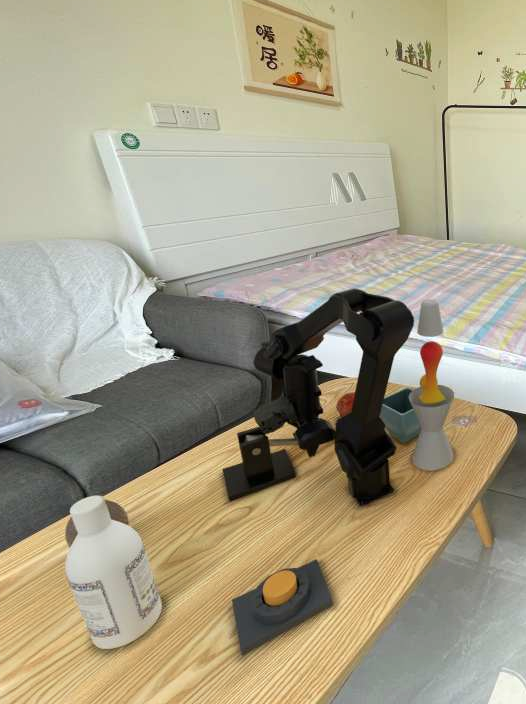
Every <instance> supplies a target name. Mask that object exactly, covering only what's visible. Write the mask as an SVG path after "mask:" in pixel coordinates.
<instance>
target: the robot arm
mask: <svg viewBox="0 0 526 704" xmlns="http://www.w3.org/2000/svg"><path fill="white" fill-rule="evenodd" d="M342 323H343V325H344V327H345V329H346V332H349V333H350V334H352V335H353V336H355V341H356V342H357V344H358V345H359V347H360V348H361V350H362V355H361V360H360V366H359V371H358V375H357V380H356V385H355V391H354V392H355V395H354V400H353V405H352V410H351V412H350V413H348V414H347V415H345V416H343V417H340V418H337V419H336V422H335V425H334V426H333V424H331V421H329V420H327V419H324V418H322V417H319V416H321V415H324V408H323V406H322V405H321V400H320V397H321V396H322V395H323V394H322V389H321V388H320V387H319V381H318V371H317V369H319V368H322V367H323V366H324V364H323V363H322V361H321V360H319V359H318V358H317V357H316V356H315V355H314V354H311V355H308V354H305V353H307V352H309V351H312V350H314V349H317V348H318V347H319V346H320V345H321V344H322V342H323V341H324V339H325V337H324V336H325V334H327V333H328V332H329V331H331V330H333V329H334V328H336V327H338V326H339V325H340V324H342ZM414 325H415V317H414V315H413V313H412V310H411V309H410V307H408V305H406V304H405V303H404V302H402V301H401V300H395V299H393V298H391V297H388V296H384V295H378V294H374V293H368V292H367V291H364V290H362V289H359V288H350V289H346V290H343V291H339V292H336V293H333V294H332V295H331V296H330V297H329V298H328V299H327V300H326V301H325V302H323V303H322V304H321V305H319V306H318V307H317V308H315V309H314V310H312V311H311V312H310V313H309V314H307V315H306V316H305V317H303V318H302V319H301V320H299V321H297V322H294V323H291V324H288V325H285V326H282V327H279V328H276V329H274V330H273V331H272V332H271V335H270V336H271V338H270V339H268V340H266V341H262V342H260V346H261V348H260V349H259V350H258V351H257V352H256V354H255V356H254V358H253V361H252V362H253V366H254V368H255V370H257V371H258V372H260V373H263V374H265V375H268V376H270V377H272V378H275V379H277V380H283V381H284V382H283V383H284V387H283V388H282V389H283V390H281V395H280V396H279V397H278V398H277V399H273V400H272V401H270V402H268V403H266V404H265V405H262V406H261V407H259V408H257V409H255V410H254V411H253V413H252V416H253V418H254V421H255V423H256V424H257V427H260V428H261V431H263V432H264V434H265V435H269V434H271V433H274V432H276V431H278V430H279V429H281V428H283V427H284V426H285V424H287V425H290V426H292V427H294V428H296V430H295V431H294V432H293V433H292V436H293V438H295V440H296V441H297V444H298V445H297V446H298V448H299V450H301V451H306V453H307V456H308V458H312V457H314V456H316V454H317V452H318V450H319V447H320V446H321V445H324V444H327V443H330V442H334V451H335V455H336V458H337V460H338V463H339V466H340V469H341V471H342V472H344V473H345V474H346V478H347V484H348V491H349V493H350V495H351V497H352V498H353V499H354V500H356V502H357V504H358V506H359V507H363V506H366V505H368V504H370V503H372V502H374V501H377V500H379V499H382V498H383V497H387V496H388V495H392V494H393V493H394V492H395V488H394V486H392V484H391V477H390V460H389V459H390V458H391V457H393V456H395V455H396V452H397V449H398V448H397V446H396V444H395V442H394V441H393V440H392V438H391V437H390V435H389V434H388V433H387V432H388V431H387V430H386V428H385V423H384V422H383V420H382V419H381V417H380V413H381V409H382V405H383V401H384V398H385V397H386V393H387V387H388V384H389V380H390V376H391V372H392V367H393V363H394V360H395V356H396V354H397V353H398V352H399V350H400V349H401V348H402V347H403V346H404V345H405V344H406V342H407V341H408V340H409V337H410V335H411V333H412V330H413V329H414Z"/></svg>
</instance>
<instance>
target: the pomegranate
mask: <svg viewBox="0 0 526 704" xmlns="http://www.w3.org/2000/svg"><path fill="white" fill-rule="evenodd" d="M354 395H355V391H353V392H347V393H345V394H343V395H342V396H340V398H339V399H338V400H337V402H336V405H335V409H336V411H337V412H338V413H339V416H338V417H337V419H339V418H341V417H343V416H345V415H347V414H348V413H350V412H351V410H352V405H353V400H354Z"/></svg>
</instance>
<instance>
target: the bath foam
mask: <svg viewBox="0 0 526 704" xmlns="http://www.w3.org/2000/svg"><path fill="white" fill-rule="evenodd" d="M105 500H106V499H105V498H104V496H102V495H99V494H98V495H90V496H87V497H84V498H82V499H79V500H78V501H77V502H75V503H74V504H72V506H71V507H70V509H69V513H70V518H71V517H72V519H73V522H74V525H75V527H76V530H77V532H78V535H77V536H76V538H75V540H74V542H73V543H72V545H71V547H70V548H68V552H67V554H66V557H65V565H64V566H65V575H66V579H67V582H68V584H69V587H70V589H71V592H72V594H73V597H74V599H75V602H76V604H77V607H78V609H79V612H80V615H81V617H82V619H83V622H84V625H85V627H86V629H87V632H88V633H89V636H90V638H91V641H92V643H93V644H94V646H96V647H97V648H99V649H102V650H113V649H117V648H120V647H123V646H125V645H128V644H130V643H132V642H134V641H136V640H137V639H139V638H140V637H142V636H143V635H144V634H146V633H147V632H148V631H149V630H150V629H151V628H152V627H153V626H154V625H155V624H156V622H157V621H158V620H159V618H160V615H161V613H162V609H163V603H162V599H161V596H160V593H159V589H158V586H157V582H156V580H155V576H154V573H153V570H152V567H151V564H150V561H149V558H148V557H149V556H148V554H147V551H146V547H145V544H144V542H143V539H142V537H141V535H140V534H139V533H138V532H137V531H136V529H134V528H133V527H132V526H130V525H129V526H128V525H126V524H124V523H121V522H118V521H115V520H112V519H111V518H110V514H109V511H108V508H107V505H106V502H105Z"/></svg>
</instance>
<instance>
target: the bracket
mask: <svg viewBox="0 0 526 704" xmlns="http://www.w3.org/2000/svg"><path fill="white" fill-rule="evenodd" d="M246 435H263V437H261V438H258V439H254V440H251V441H248V442H244V441H245V438H246ZM236 436H237V441H238V446H239V451H240V456H241V462H240V463H236V464H234V465H233V464H232V465H231V466H227V467H225V468H222V469H221V471H222V474H223V479H224V483H225V489H226V493H227V496H228V502H230V503H231V502H233V501H236V500H239V499H241V498H244V497H248V496H250V495H252V494H255V493H258V492H260V491H263V490H266V489H269V488H272V487H273V486H277V485H279V484H282V483H285V482H288V481H291V480H293V479H296V478H297V473H296V470H295V468H294V466H293V463H292V460H291V458H290V456H289V454H288V452H287V449H286V448H284V449H280V450H277V451H274V452H271V446H270V445H269V439H270V438H269V436H268V435H267V434H264V432H263V431H261V428H260V427H259V426H256V427H253V428H249V429H246V430H243V431H239V432H237V433H236Z"/></svg>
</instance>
